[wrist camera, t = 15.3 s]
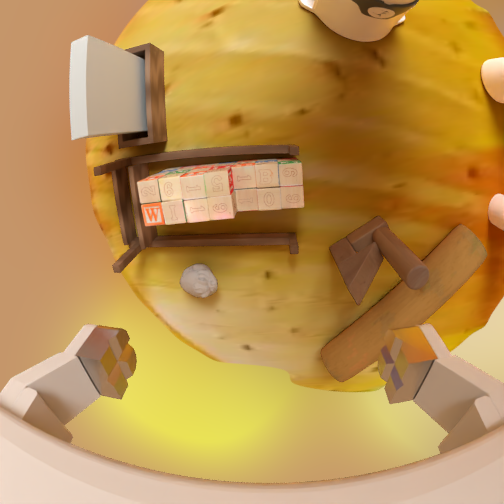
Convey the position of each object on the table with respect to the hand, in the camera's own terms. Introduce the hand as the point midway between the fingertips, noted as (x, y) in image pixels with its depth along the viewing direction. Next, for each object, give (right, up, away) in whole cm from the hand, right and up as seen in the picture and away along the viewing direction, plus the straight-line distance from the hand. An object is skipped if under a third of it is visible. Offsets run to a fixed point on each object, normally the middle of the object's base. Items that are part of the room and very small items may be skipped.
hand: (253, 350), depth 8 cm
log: (+30, -6, +44) cm, 54 cm away
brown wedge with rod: (+19, +5, +40) cm, 44 cm away
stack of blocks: (-3, +15, +37) cm, 40 cm away
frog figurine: (-9, 0, +44) cm, 45 cm away
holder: (-17, +29, +31) cm, 46 cm away
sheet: (-17, +29, +31) cm, 46 cm away
